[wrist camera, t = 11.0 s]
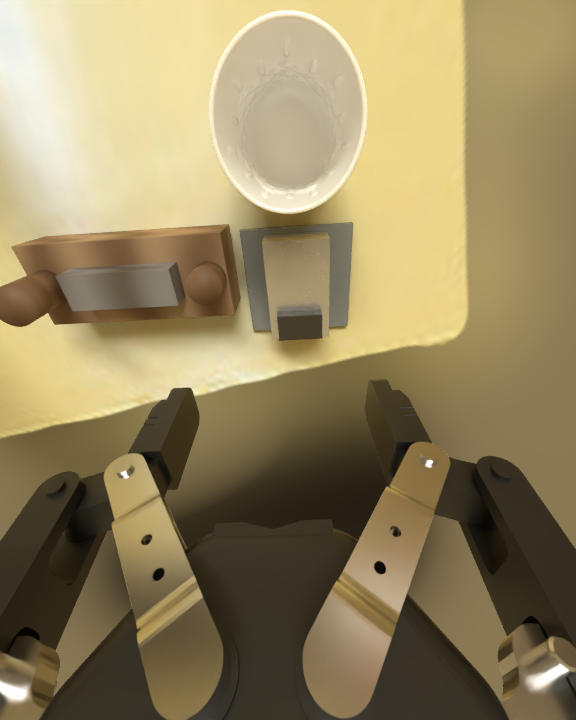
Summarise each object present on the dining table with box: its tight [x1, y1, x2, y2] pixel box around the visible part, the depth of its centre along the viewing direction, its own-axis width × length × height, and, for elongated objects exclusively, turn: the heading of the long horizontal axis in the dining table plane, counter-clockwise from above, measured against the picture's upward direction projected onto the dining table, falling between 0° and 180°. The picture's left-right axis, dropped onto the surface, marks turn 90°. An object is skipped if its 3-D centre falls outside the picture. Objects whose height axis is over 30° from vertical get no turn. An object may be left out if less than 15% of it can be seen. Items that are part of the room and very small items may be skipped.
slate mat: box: [240, 222, 353, 331], centre depth 29 cm, size 10×10×1 cm
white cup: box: [209, 10, 367, 214], centre depth 19 cm, size 8×8×10 cm
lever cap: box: [262, 231, 330, 341], centre depth 27 cm, size 9×6×4 cm, turn 4°
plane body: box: [0, 224, 240, 327], centre depth 25 cm, size 17×7×8 cm, turn 94°
